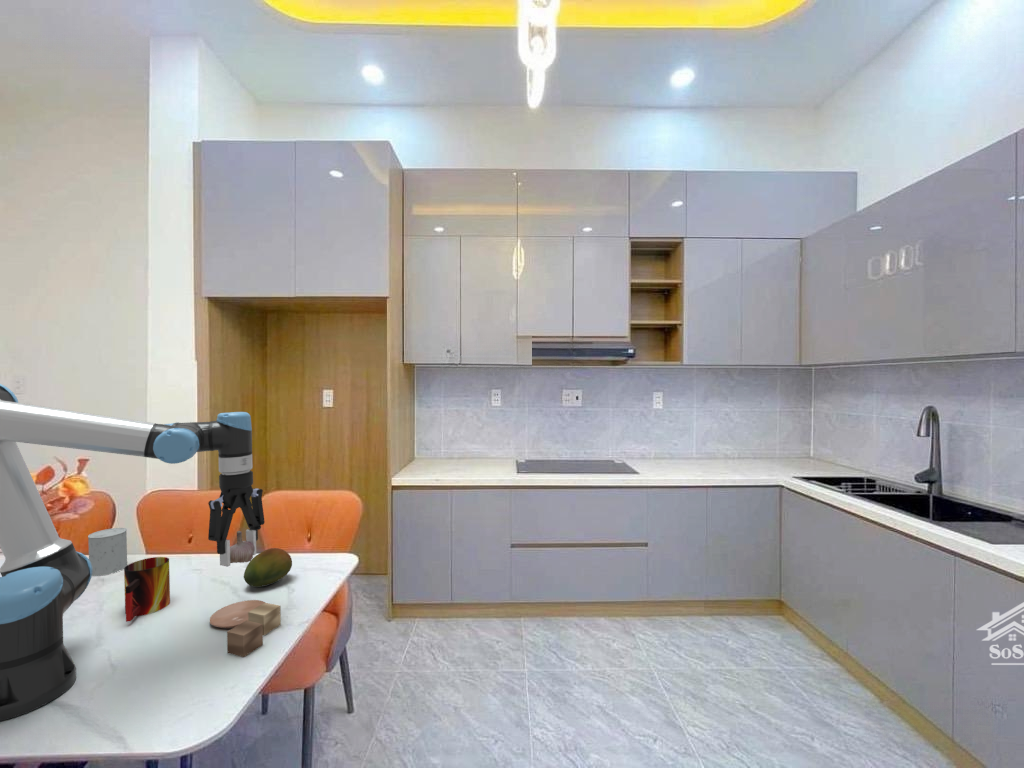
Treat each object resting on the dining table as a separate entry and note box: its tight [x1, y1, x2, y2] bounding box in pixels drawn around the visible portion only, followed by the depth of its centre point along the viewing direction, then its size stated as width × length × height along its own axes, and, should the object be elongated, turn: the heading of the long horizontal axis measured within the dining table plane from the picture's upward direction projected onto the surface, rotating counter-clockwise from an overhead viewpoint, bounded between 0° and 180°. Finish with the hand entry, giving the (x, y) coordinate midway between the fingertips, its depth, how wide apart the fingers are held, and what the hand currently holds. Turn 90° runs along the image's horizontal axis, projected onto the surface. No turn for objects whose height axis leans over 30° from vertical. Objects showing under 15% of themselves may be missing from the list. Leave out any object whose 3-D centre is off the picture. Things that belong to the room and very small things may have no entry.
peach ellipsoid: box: [209, 599, 266, 629], centre depth 119 cm, size 13×13×1 cm
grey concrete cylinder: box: [87, 527, 128, 577], centre depth 149 cm, size 10×10×12 cm
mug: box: [123, 556, 171, 622], centre depth 123 cm, size 10×14×12 cm
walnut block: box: [226, 620, 264, 658], centre depth 105 cm, size 5×5×5 cm
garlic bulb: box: [230, 530, 255, 564], centre depth 118 cm, size 8×7×8 cm
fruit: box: [243, 547, 293, 588], centre depth 138 cm, size 12×13×10 cm
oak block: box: [248, 602, 282, 637], centre depth 114 cm, size 5×5×5 cm
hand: (238, 559), depth 118 cm, fingers closed on garlic bulb, 7 cm apart
